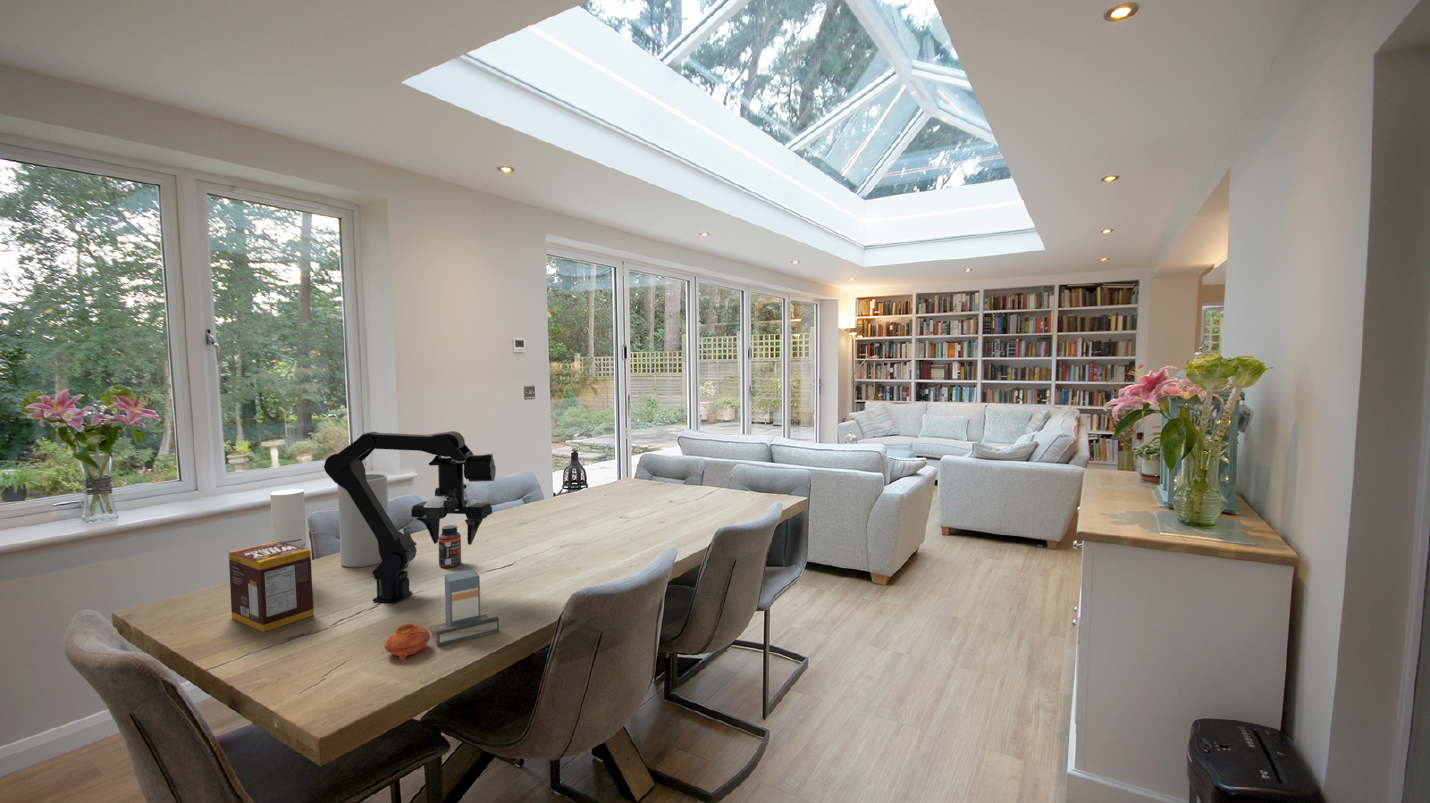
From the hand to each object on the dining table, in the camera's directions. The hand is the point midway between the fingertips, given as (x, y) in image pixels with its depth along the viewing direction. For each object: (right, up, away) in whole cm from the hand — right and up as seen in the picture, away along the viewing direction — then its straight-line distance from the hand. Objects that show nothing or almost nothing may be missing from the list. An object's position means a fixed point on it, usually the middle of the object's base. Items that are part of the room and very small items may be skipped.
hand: (452, 543), depth 150 cm
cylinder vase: (-38, -12, +27) cm, 48 cm away
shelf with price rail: (+12, -14, -22) cm, 29 cm away
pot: (+5, -15, -32) cm, 36 cm away
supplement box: (-36, -14, -12) cm, 41 cm away
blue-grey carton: (+12, -13, -22) cm, 28 cm away
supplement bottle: (-11, -12, +23) cm, 28 cm away
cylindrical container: (-46, -13, +7) cm, 48 cm away
